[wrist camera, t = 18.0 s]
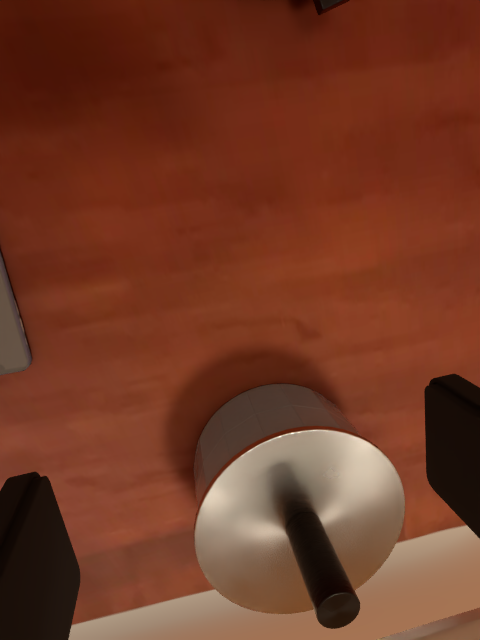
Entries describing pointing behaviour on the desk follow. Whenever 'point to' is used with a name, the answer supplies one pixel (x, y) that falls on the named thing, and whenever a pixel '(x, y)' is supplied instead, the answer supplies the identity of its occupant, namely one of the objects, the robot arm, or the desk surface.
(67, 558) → the robot arm
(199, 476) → the pot
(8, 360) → the smartphone
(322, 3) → the pan
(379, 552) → the lid
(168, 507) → the desk surface
